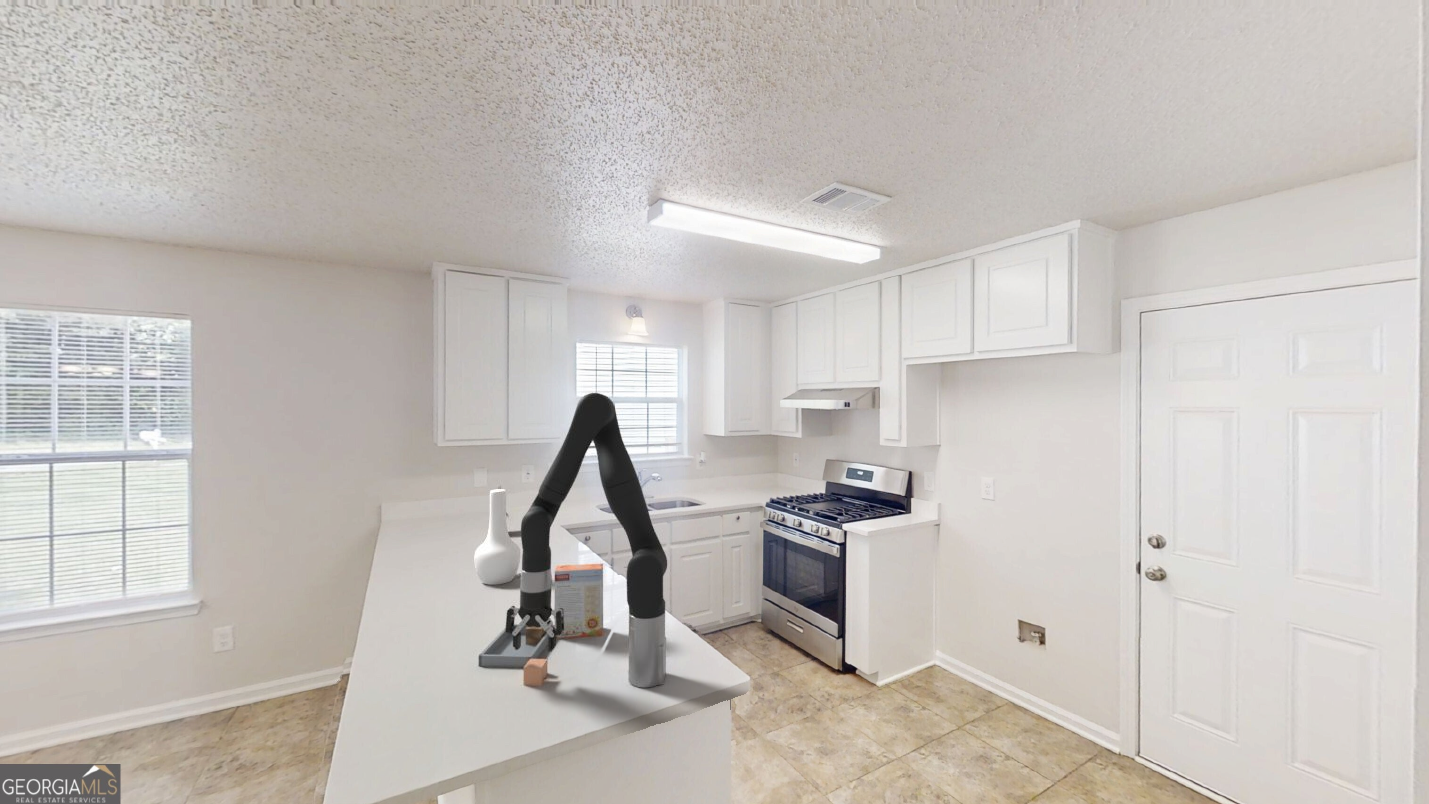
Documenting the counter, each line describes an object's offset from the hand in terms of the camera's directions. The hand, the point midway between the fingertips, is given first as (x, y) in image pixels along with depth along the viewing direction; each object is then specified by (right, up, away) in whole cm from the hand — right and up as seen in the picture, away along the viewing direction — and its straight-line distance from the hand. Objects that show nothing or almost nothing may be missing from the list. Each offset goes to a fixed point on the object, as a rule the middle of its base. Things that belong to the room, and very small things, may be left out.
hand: (534, 649), depth 139 cm
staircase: (-66, -6, +141) cm, 155 cm away
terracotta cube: (0, -8, 0) cm, 8 cm away
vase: (-39, -7, +74) cm, 84 cm away
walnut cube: (-6, -7, +20) cm, 22 cm away
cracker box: (+5, -8, +26) cm, 27 cm away
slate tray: (-9, -8, +15) cm, 19 cm away
